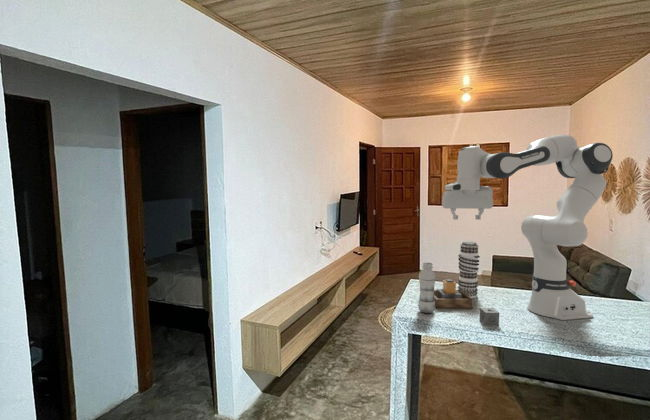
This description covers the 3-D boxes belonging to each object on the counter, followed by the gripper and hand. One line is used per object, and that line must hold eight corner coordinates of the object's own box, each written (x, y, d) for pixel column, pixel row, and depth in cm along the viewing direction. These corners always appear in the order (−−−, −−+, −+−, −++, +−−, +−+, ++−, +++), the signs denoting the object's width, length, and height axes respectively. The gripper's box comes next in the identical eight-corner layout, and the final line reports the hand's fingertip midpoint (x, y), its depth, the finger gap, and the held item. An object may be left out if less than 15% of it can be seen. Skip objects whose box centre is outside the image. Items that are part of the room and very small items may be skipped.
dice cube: (485, 325, 130) (485, 312, 130) (479, 320, 135) (479, 307, 135) (498, 325, 130) (499, 312, 130) (492, 320, 135) (493, 307, 135)
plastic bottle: (436, 315, 140) (437, 265, 138) (418, 314, 141) (419, 264, 139) (434, 309, 146) (435, 262, 144) (417, 308, 147) (418, 261, 146)
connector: (451, 300, 156) (452, 278, 155) (455, 303, 152) (455, 281, 151) (442, 300, 155) (443, 278, 155) (445, 303, 151) (446, 281, 151)
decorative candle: (472, 291, 170) (474, 240, 168) (482, 298, 161) (484, 243, 159) (453, 292, 169) (455, 240, 167) (462, 298, 160) (464, 244, 158)
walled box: (459, 298, 160) (460, 286, 160) (472, 308, 147) (472, 296, 147) (426, 298, 160) (427, 287, 160) (436, 308, 147) (436, 296, 147)
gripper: (489, 186, 149) (487, 218, 150) (441, 185, 149) (440, 218, 150) (496, 186, 143) (495, 220, 144) (446, 186, 142) (445, 220, 143)
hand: (466, 219), depth 147 cm, fingers open, 8 cm apart
